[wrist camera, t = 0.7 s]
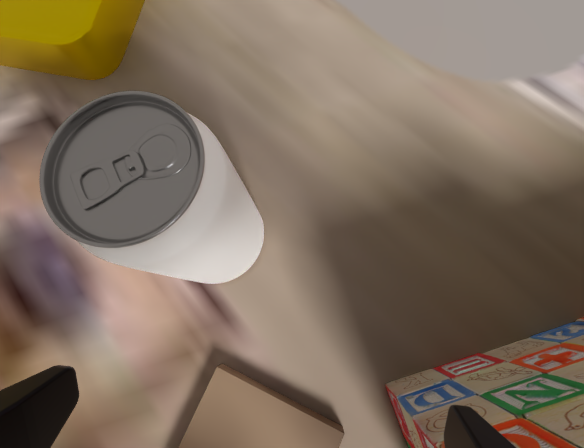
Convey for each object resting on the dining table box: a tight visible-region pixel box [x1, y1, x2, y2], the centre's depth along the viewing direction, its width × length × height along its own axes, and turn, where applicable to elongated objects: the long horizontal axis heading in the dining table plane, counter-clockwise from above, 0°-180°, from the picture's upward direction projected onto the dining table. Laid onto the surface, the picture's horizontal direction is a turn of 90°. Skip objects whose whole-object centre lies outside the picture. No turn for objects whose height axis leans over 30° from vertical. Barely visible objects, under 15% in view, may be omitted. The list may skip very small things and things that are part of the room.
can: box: [40, 91, 264, 284], centre depth 17 cm, size 6×6×12 cm
